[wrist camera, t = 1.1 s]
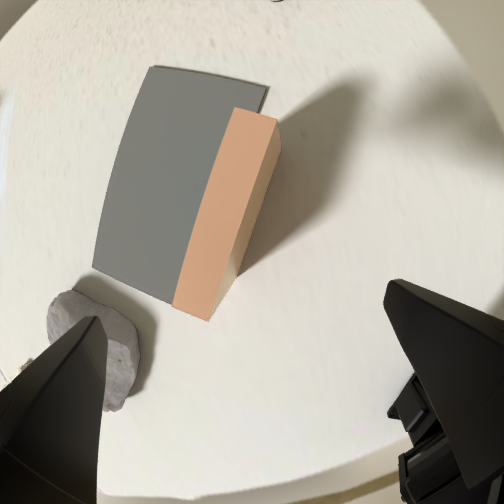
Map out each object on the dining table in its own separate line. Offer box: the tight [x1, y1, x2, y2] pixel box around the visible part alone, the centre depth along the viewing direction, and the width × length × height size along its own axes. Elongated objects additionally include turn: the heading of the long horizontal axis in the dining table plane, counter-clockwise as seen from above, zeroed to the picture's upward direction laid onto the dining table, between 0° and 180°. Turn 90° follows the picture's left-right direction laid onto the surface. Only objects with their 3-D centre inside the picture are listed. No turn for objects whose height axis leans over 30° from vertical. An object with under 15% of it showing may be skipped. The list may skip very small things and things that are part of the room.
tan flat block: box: [172, 107, 282, 322], centre depth 17 cm, size 2×10×8 cm, turn 161°
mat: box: [92, 67, 266, 305], centre depth 21 cm, size 10×18×1 cm, turn 161°
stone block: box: [47, 290, 140, 412], centre depth 24 cm, size 12×5×10 cm
